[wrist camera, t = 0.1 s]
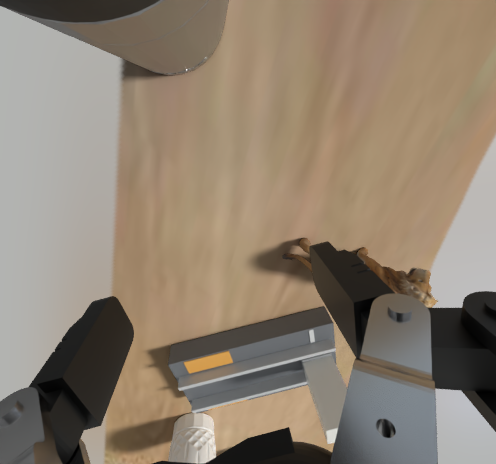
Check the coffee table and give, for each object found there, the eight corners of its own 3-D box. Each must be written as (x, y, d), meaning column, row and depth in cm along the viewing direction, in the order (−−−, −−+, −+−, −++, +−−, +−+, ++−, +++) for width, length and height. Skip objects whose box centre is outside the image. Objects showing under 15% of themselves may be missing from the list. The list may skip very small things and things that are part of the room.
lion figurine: (397, 239, 32) (457, 285, 25) (383, 274, 35) (433, 326, 27) (284, 235, 30) (310, 285, 22) (277, 273, 33) (298, 329, 25)
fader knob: (300, 353, 35) (325, 428, 27) (328, 346, 35) (362, 419, 27) (303, 371, 37) (328, 446, 29) (330, 364, 37) (362, 437, 29)
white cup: (223, 426, 47) (226, 501, 38) (183, 439, 47) (177, 517, 39) (205, 404, 43) (204, 482, 35) (162, 419, 44) (150, 500, 35)
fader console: (171, 345, 36) (166, 375, 32) (324, 306, 36) (338, 332, 32) (197, 393, 42) (195, 424, 38) (329, 359, 42) (341, 386, 38)
